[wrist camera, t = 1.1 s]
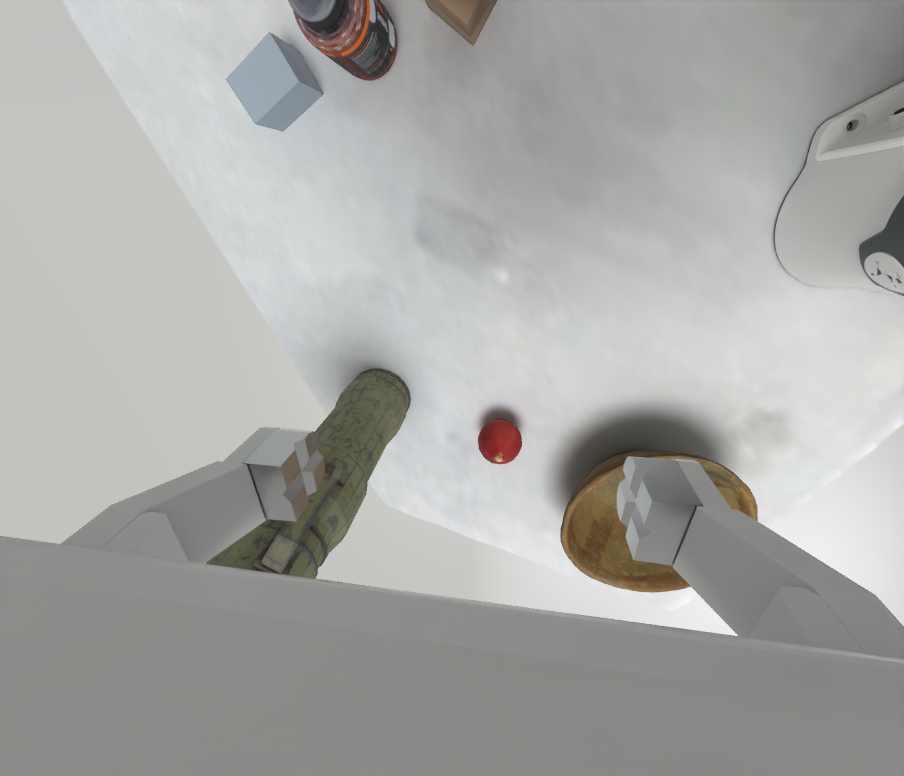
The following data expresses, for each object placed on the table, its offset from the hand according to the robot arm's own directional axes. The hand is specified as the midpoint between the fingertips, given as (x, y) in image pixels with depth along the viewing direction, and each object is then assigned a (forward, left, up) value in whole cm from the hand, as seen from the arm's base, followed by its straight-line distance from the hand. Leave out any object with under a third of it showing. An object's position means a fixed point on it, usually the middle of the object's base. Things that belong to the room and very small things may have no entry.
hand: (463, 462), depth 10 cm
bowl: (+4, +36, -37) cm, 52 cm away
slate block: (+7, -27, -37) cm, 46 cm away
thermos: (+25, +4, -37) cm, 45 cm away
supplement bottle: (-2, -24, -37) cm, 44 cm away
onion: (+14, +18, -37) cm, 44 cm away
